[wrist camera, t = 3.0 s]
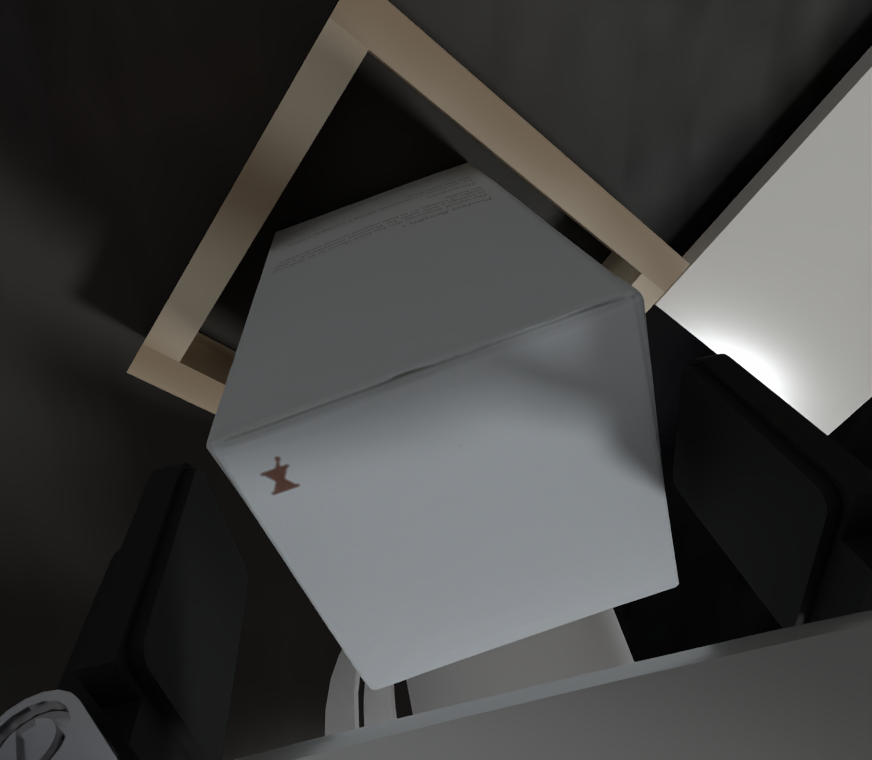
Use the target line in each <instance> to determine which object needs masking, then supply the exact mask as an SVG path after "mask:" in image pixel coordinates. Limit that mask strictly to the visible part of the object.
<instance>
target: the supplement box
mask: <svg viewBox="0 0 872 760" xmlns="http://www.w3.org/2000/svg"><path fill="white" fill-rule="evenodd" d="M206 448H207V449H208V451H209V452H210V453H211V455H212V456H213V458H214V459H215V460H216V462H217V463H218V465H219V466H220V467H221V469H222V470H223V472H224V473H225V475H226V476H227V477H228V479H229V480H230V482H231V483H232V485H233V486H234V487H235V489H236V490H237V492H238V493H239V495H240V496H241V497H242V499H243V500H244V502H245V503H246V505H247V506H248V507H249V509H250V510H251V512H252V513H253V515H254V516H255V518H256V519H257V521H258V522H259V524H260V525H261V527H262V528H263V530H264V531H265V533H266V534H267V536H268V537H269V539H270V540H271V542H272V543H273V545H274V546H275V548H276V549H277V551H278V552H279V554H280V555H281V557H282V558H283V560H284V561H285V563H286V564H287V566H288V568H289V569H290V571H291V572H292V574H293V575H294V577H295V579H296V580H297V582H298V583H299V584H300V586H301V587H302V589H303V590H304V592H305V593H306V595H307V596H308V598H309V599H310V601H311V603H312V604H313V606H314V607H315V609H316V610H317V612H318V613H319V615H320V616H321V618H322V619H323V621H324V622H325V624H326V625H327V627H328V628H329V630H330V631H331V633H332V634H333V636H334V637H335V639H336V640H337V642H338V643H339V645H340V646H341V648H342V649H343V651H344V652H345V654H346V656H347V657H348V658H349V660H350V661H351V663H352V665H353V666H354V668H355V669H356V670H357V672H358V673H359V675H360V676H361V678H362V679H363V680H364V682H365V683H366V684H367V686H368V687H369V688H370V689H373V690H378V689H381V688H383V687H386V686H389V685H392V684H395V683H398V682H401V681H403V680H406V679H409V678H411V677H414V676H417V675H420V674H422V673H425V672H428V671H431V670H434V669H437V668H439V667H442V666H445V665H448V664H451V663H454V662H456V661H459V660H462V659H465V658H468V657H471V656H474V655H477V654H480V653H483V652H485V651H488V650H491V649H494V648H497V647H500V646H503V645H506V644H509V643H511V642H514V641H517V640H520V639H523V638H526V637H529V636H532V635H535V634H538V633H541V632H543V631H546V630H549V629H552V628H555V627H558V626H561V625H564V624H567V623H570V622H573V621H575V620H578V619H581V618H584V617H587V616H590V615H593V614H596V613H599V612H602V611H605V610H608V609H610V608H613V607H616V606H619V605H622V604H626V603H629V602H632V601H634V600H638V599H641V598H644V597H647V596H650V595H653V594H656V593H659V592H662V591H665V590H668V589H671V588H674V587H676V586H677V585H678V584H679V580H678V576H677V569H676V562H675V555H674V548H673V542H672V535H671V529H670V522H669V515H668V508H667V501H666V495H665V488H664V479H663V470H662V460H661V451H660V442H659V434H658V425H657V416H656V407H655V397H654V388H653V378H652V369H651V362H650V354H649V345H648V335H647V326H646V315H645V305H644V298H643V296H642V294H641V293H640V291H638V290H637V289H636V288H634V287H633V286H631V285H630V284H628V283H627V282H625V281H624V280H622V279H621V278H619V277H618V276H616V275H615V274H614V273H612V272H611V271H609V270H608V269H606V268H605V267H604V266H602V265H601V264H600V263H598V262H597V261H596V260H594V259H593V258H592V257H591V256H589V255H588V254H587V253H585V252H584V251H583V250H581V249H580V248H579V247H578V246H576V245H575V244H574V243H572V242H571V241H570V240H569V239H567V238H566V237H565V236H563V235H562V234H561V233H559V232H558V231H557V230H556V229H554V228H553V227H552V226H550V225H549V224H548V223H547V222H546V221H544V220H543V219H542V218H541V217H539V216H538V215H537V214H535V213H534V212H533V211H532V210H530V209H529V208H528V207H526V206H525V205H524V204H523V203H521V202H520V201H519V200H518V199H516V198H515V197H514V196H512V195H511V194H510V193H508V192H507V191H506V190H504V189H503V188H502V187H501V186H499V185H498V184H497V183H496V182H494V181H493V180H492V179H490V178H489V177H487V176H486V175H484V174H483V173H482V172H481V171H479V170H478V169H476V168H475V167H474V166H473V165H471V164H470V163H465V164H462V165H459V166H456V167H453V168H450V169H447V170H444V171H441V172H438V173H435V174H432V175H430V176H427V177H424V178H421V179H419V180H416V181H413V182H410V183H408V184H405V185H402V186H399V187H397V188H394V189H391V190H389V191H386V192H383V193H380V194H378V195H375V196H372V197H370V198H367V199H364V200H361V201H359V202H356V203H353V204H351V205H348V206H345V207H343V208H340V209H337V210H335V211H332V212H329V213H326V214H324V215H321V216H318V217H316V218H313V219H310V220H308V221H305V222H302V223H300V224H297V225H294V226H291V227H289V228H286V229H283V230H280V231H277V232H276V233H275V234H274V238H273V241H272V244H271V247H270V250H269V253H268V256H267V259H266V262H265V266H264V269H263V272H262V275H261V278H260V281H259V284H258V287H257V290H256V293H255V296H254V299H253V302H252V305H251V308H250V311H249V314H248V317H247V320H246V324H245V327H244V330H243V333H242V336H241V339H240V342H239V345H238V348H237V351H236V354H235V357H234V361H233V364H232V366H231V369H230V372H229V375H228V378H227V381H226V385H225V388H224V391H223V394H222V397H221V400H220V403H219V406H218V409H217V412H216V415H215V418H214V421H213V424H212V427H211V431H210V434H209V437H208V440H207V445H206Z"/></svg>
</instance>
